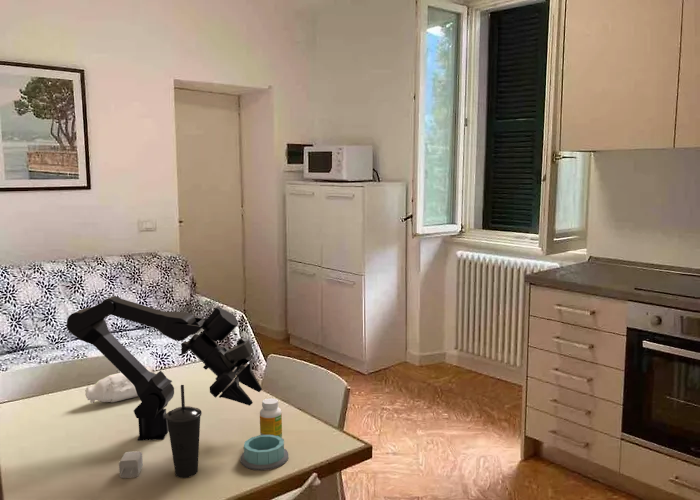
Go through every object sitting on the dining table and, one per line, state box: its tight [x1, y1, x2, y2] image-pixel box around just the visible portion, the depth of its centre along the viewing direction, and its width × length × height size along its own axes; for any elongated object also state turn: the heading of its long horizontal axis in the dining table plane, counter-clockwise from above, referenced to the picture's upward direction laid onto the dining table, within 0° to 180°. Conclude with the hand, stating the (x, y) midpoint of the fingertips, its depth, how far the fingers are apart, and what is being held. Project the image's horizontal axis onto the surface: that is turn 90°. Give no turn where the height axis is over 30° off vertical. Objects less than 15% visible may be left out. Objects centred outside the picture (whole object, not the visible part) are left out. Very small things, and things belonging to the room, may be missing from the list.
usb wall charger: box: [118, 450, 144, 479], centre depth 133 cm, size 4×7×4 cm, turn 7°
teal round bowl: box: [239, 435, 289, 471], centre depth 140 cm, size 11×11×4 cm
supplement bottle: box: [259, 397, 283, 439], centre depth 150 cm, size 5×5×10 cm
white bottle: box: [84, 366, 156, 404], centre depth 179 cm, size 8×19×8 cm, turn 129°
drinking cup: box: [165, 384, 203, 479], centre depth 133 cm, size 8×8×20 cm
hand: (256, 397), depth 150 cm, fingers open, 9 cm apart
